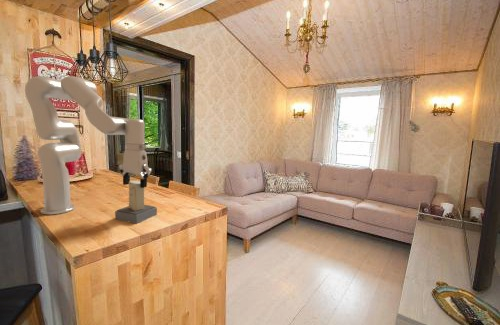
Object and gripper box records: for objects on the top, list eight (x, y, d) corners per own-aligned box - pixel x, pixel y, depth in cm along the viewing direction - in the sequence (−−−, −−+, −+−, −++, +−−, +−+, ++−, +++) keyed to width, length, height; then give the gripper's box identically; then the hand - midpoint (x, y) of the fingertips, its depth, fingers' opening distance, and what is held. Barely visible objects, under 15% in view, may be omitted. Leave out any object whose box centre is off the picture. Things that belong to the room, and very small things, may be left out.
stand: (115, 219, 104) (115, 210, 104) (136, 210, 116) (136, 202, 115) (136, 223, 100) (136, 214, 100) (156, 214, 112) (156, 206, 111)
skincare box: (128, 207, 108) (128, 181, 106) (138, 205, 111) (138, 180, 109) (135, 211, 104) (134, 184, 102) (145, 209, 107) (144, 182, 105)
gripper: (157, 148, 105) (156, 186, 107) (126, 145, 110) (126, 181, 112) (144, 149, 97) (144, 190, 100) (112, 146, 103) (113, 184, 105)
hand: (134, 185), depth 106 cm, fingers open, 9 cm apart
